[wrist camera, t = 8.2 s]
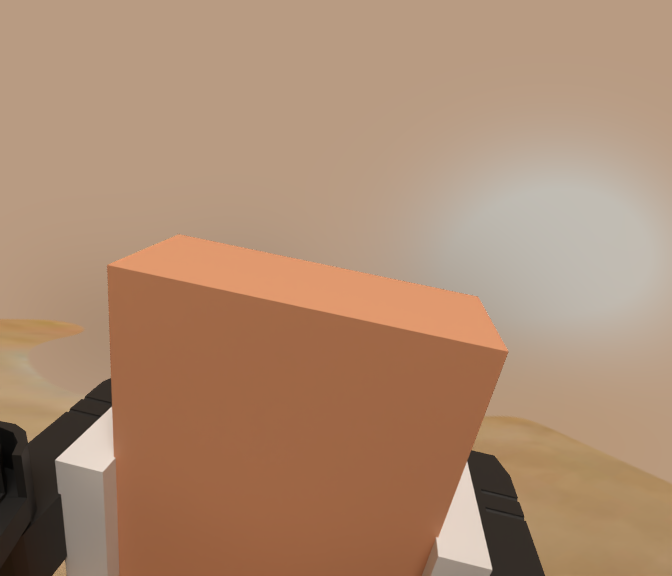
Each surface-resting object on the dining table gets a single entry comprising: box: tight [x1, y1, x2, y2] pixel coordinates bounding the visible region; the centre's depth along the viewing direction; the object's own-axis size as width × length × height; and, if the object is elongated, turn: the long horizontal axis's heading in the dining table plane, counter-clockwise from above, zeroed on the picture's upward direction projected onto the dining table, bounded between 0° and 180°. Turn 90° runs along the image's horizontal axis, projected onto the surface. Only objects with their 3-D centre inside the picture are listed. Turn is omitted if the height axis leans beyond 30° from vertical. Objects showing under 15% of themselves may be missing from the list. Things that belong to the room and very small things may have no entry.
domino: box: [107, 234, 508, 576], centre depth 8 cm, size 5×2×11 cm, turn 82°
